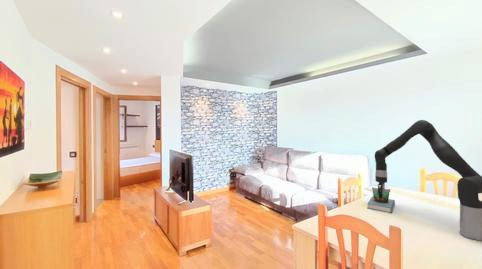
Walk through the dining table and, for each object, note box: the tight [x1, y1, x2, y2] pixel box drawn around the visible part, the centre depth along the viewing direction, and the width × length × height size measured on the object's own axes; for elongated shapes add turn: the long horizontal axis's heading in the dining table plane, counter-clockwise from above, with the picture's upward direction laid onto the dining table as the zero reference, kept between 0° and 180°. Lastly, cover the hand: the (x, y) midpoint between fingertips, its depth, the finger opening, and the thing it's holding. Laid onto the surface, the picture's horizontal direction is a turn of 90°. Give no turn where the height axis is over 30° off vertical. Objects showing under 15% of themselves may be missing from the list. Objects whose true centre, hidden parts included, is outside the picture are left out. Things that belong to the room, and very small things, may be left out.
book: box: [367, 196, 396, 214], centre depth 162 cm, size 20×15×4 cm
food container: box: [371, 186, 391, 202], centre depth 161 cm, size 12×6×10 cm, turn 61°
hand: (381, 196), depth 162 cm, fingers open, 7 cm apart
